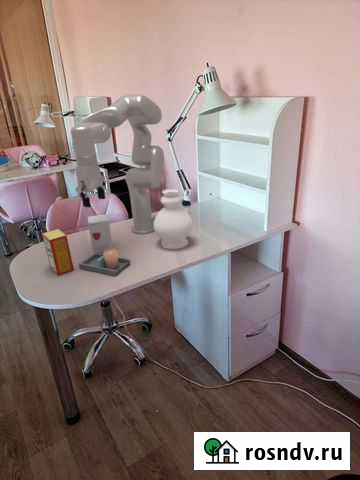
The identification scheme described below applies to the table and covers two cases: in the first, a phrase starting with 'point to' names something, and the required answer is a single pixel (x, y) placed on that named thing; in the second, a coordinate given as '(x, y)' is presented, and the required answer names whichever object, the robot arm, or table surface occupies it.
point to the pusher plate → (101, 262)
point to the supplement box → (100, 233)
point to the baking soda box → (58, 251)
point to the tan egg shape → (111, 259)
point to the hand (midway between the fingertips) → (94, 202)
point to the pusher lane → (92, 265)
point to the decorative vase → (172, 221)
